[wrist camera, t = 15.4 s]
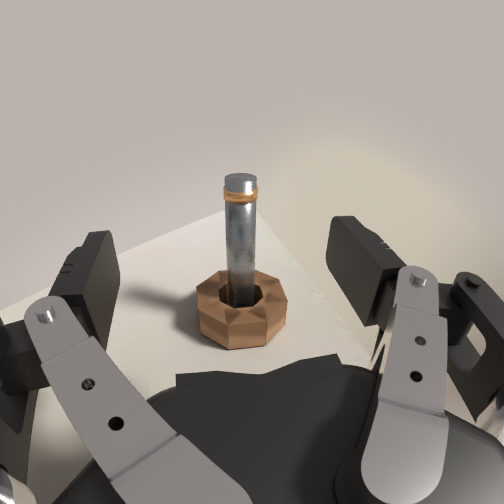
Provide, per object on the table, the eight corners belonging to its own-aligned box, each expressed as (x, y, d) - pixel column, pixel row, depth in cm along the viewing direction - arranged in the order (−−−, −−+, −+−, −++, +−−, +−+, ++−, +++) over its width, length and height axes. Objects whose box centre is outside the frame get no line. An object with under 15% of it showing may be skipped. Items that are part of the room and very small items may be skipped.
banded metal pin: (229, 328, 30) (224, 183, 22) (226, 310, 32) (221, 173, 25) (256, 325, 30) (260, 182, 23) (252, 308, 32) (254, 172, 25)
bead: (202, 352, 27) (198, 328, 25) (198, 295, 34) (195, 272, 32) (291, 341, 28) (294, 317, 27) (272, 289, 35) (273, 266, 33)
